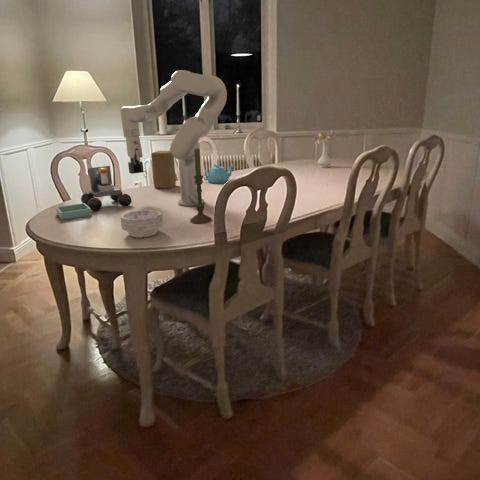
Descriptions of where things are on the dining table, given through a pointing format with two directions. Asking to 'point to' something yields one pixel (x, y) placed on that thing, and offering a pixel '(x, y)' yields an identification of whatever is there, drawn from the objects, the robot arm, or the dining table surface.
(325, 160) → the flower vase
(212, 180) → the teapot
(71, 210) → the tray
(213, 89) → the robot arm
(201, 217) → the candlestick holder
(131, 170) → the chock
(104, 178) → the stop pin
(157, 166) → the wooden block
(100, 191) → the trolley
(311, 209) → the dining table surface
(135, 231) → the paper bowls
